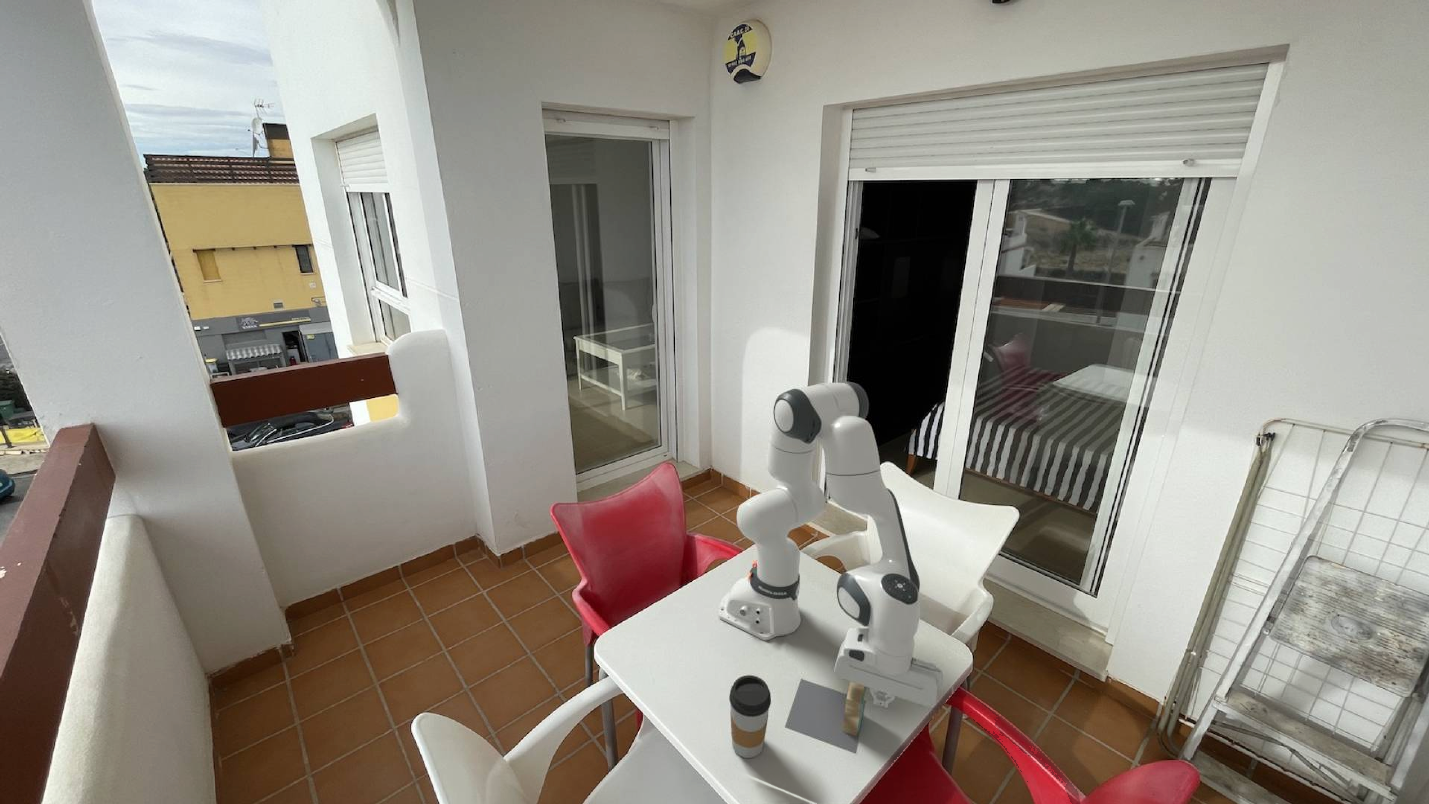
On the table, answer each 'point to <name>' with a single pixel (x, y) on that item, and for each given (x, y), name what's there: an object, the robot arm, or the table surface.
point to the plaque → (854, 708)
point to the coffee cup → (749, 715)
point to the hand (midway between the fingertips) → (880, 703)
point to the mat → (821, 715)
